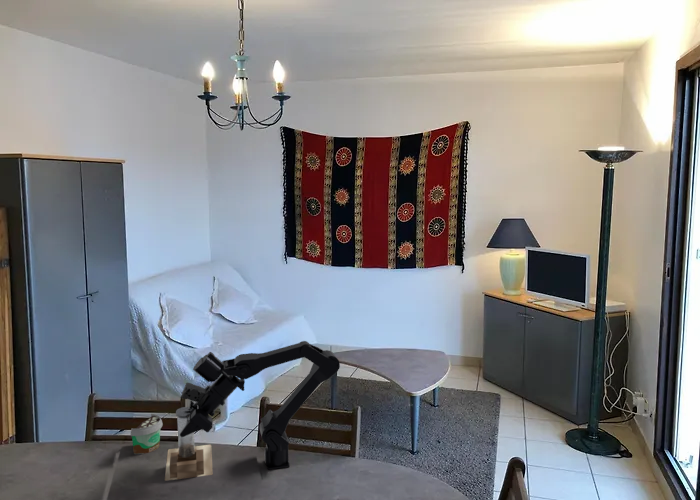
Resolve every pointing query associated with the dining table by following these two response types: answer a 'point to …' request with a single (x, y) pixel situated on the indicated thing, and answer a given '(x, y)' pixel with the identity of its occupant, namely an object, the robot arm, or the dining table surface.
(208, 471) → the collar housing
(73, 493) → the dining table surface
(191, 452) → the silver tapered cylinder
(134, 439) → the food container
